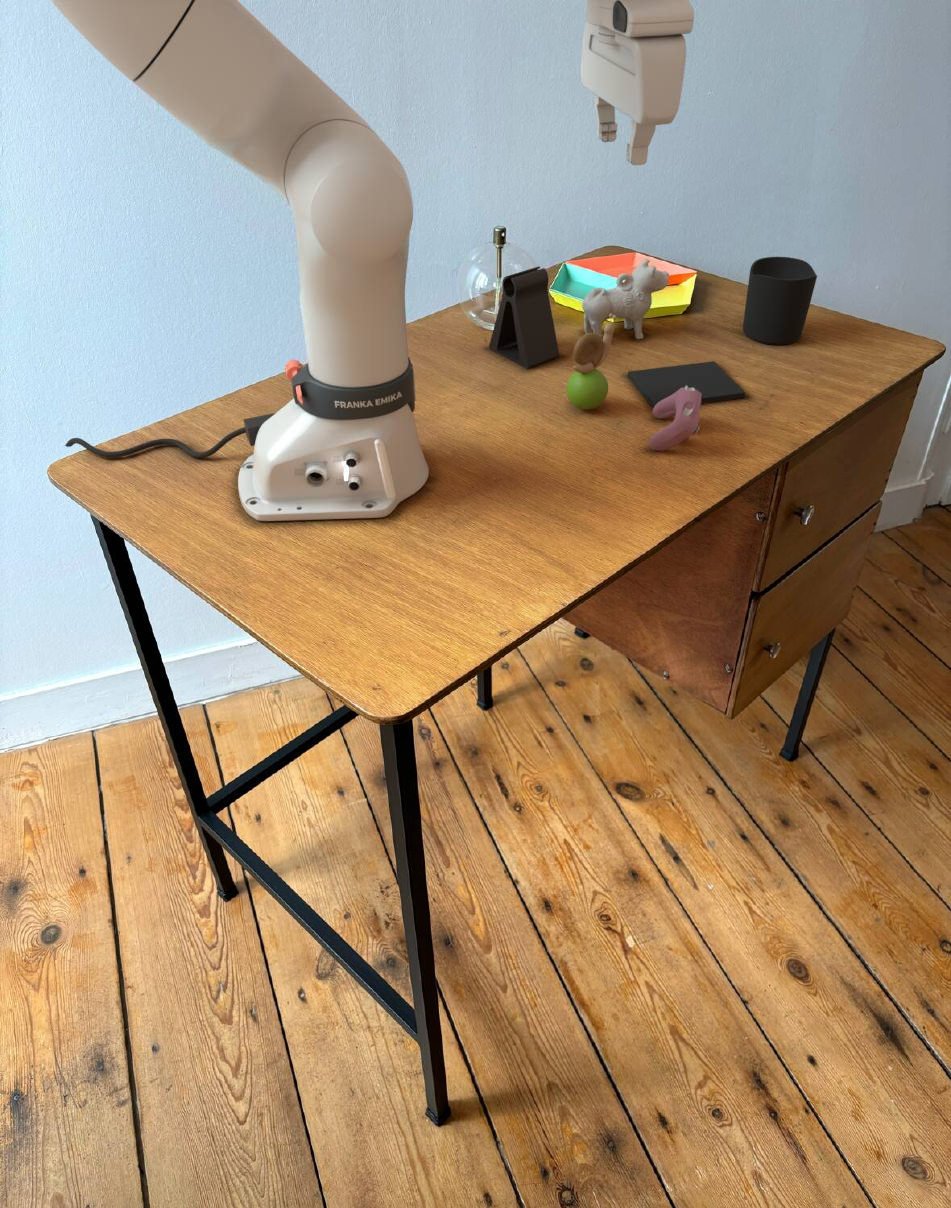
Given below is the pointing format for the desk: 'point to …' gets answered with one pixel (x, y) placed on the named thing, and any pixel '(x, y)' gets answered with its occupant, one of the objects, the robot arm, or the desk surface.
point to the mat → (686, 382)
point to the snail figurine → (590, 369)
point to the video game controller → (677, 418)
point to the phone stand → (525, 320)
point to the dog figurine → (624, 299)
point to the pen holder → (778, 299)
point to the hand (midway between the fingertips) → (620, 151)
